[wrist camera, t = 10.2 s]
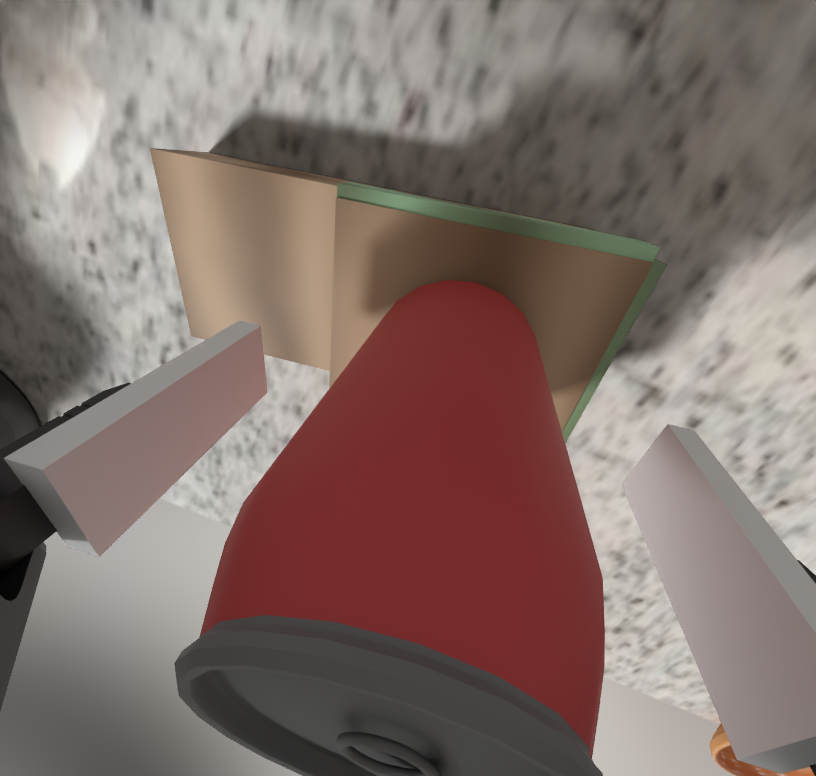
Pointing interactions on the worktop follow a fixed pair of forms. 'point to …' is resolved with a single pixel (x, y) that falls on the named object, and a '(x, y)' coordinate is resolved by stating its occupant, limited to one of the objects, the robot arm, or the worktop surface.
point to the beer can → (414, 567)
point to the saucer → (744, 771)
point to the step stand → (388, 265)
